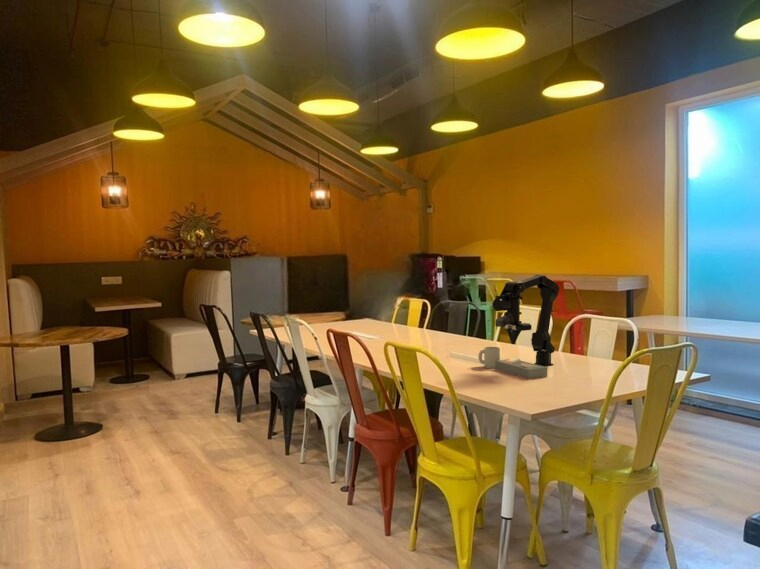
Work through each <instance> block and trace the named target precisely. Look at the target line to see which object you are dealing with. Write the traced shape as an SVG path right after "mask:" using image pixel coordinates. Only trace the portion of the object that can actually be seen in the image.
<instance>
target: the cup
mask: <svg viewBox="0 0 760 569" xmlns="http://www.w3.org/2000/svg"><path fill="white" fill-rule="evenodd" d="M483 348H484V349H481V350H480V351H479V353H478V361H479V363H480V364H481V365H484V367H485V368H487V369H496V361H497V360H501V347H497V346H485V347H483ZM483 354H484V359H483Z"/></svg>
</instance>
